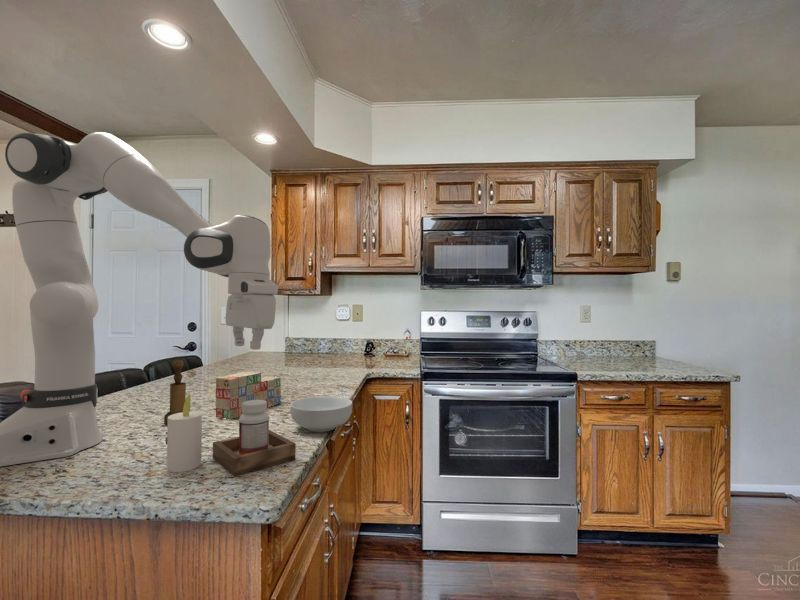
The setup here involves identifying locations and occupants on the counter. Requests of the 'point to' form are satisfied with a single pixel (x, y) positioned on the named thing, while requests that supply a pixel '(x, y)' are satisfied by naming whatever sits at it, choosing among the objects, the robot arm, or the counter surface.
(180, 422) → the candle
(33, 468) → the counter surface
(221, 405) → the stack of blocks
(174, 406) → the brown knobbed cylinder
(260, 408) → the pill bottle
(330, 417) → the cereal bowl
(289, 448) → the tray
